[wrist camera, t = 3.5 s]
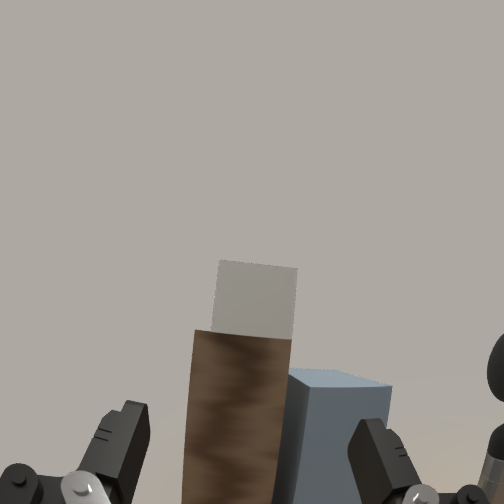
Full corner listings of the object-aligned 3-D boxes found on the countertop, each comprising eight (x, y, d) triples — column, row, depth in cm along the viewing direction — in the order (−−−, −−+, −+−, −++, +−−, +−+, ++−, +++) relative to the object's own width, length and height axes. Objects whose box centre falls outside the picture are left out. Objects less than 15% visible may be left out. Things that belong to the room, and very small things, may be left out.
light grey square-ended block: (253, 336, 42) (256, 305, 43) (291, 339, 17) (297, 264, 18) (221, 332, 42) (224, 301, 43) (210, 331, 17) (219, 255, 18)
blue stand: (308, 528, 34) (334, 369, 41) (339, 590, 18) (392, 385, 25) (257, 529, 34) (278, 367, 41) (271, 597, 17) (310, 387, 25)
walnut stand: (244, 529, 34) (266, 337, 42) (253, 597, 17) (291, 339, 25) (192, 524, 33) (207, 331, 42) (180, 592, 17) (195, 329, 25)
